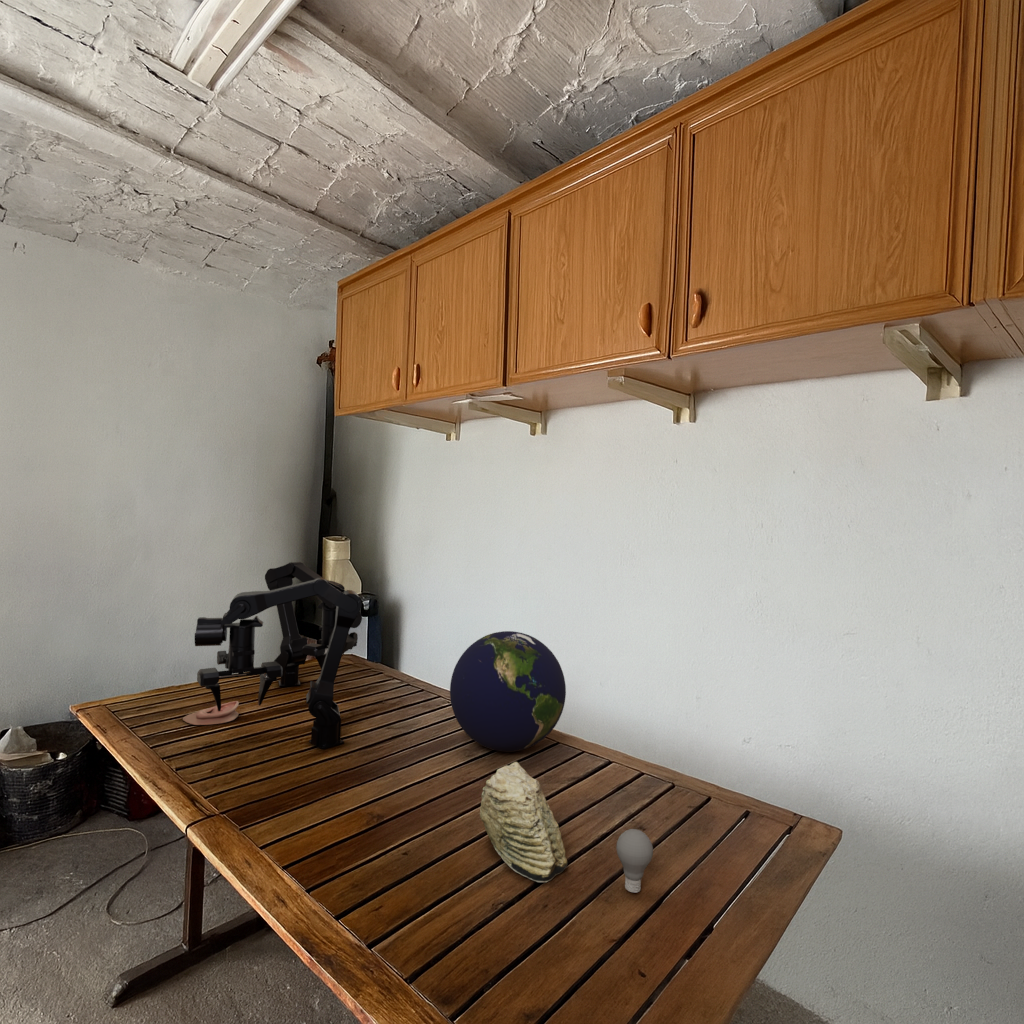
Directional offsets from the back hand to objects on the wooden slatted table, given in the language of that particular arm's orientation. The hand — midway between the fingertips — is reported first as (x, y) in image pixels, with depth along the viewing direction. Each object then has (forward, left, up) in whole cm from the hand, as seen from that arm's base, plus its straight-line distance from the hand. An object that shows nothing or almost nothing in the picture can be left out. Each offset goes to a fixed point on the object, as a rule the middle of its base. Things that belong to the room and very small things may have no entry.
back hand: (329, 672), depth 202 cm
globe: (+57, +38, -7) cm, 69 cm away
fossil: (+104, +21, -7) cm, 106 cm away
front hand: (+39, -26, +4) cm, 47 cm away
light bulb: (+119, +35, -7) cm, 125 cm away
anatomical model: (+14, -33, -7) cm, 37 cm away
